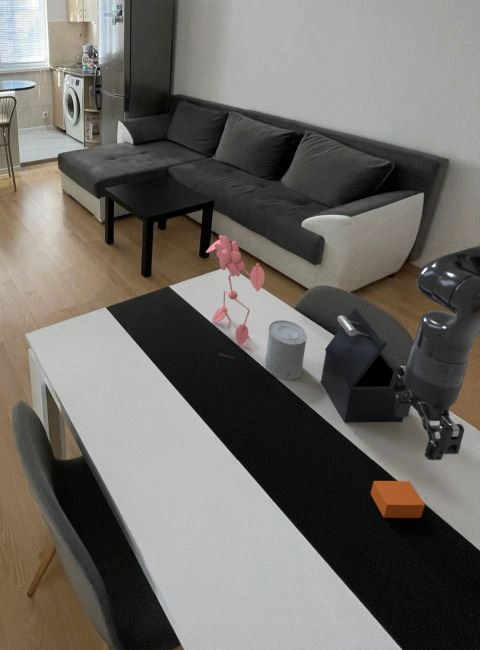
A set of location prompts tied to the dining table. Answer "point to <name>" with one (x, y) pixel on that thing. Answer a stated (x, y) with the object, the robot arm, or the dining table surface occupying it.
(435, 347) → the robot arm
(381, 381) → the bin
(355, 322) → the bin lid
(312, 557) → the dining table surface
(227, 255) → the figurine
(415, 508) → the block
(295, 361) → the grey tin can
